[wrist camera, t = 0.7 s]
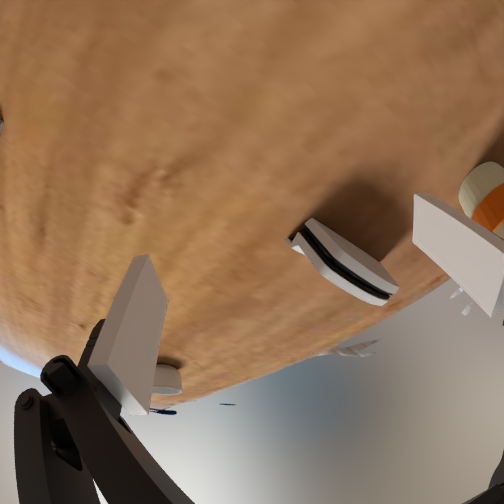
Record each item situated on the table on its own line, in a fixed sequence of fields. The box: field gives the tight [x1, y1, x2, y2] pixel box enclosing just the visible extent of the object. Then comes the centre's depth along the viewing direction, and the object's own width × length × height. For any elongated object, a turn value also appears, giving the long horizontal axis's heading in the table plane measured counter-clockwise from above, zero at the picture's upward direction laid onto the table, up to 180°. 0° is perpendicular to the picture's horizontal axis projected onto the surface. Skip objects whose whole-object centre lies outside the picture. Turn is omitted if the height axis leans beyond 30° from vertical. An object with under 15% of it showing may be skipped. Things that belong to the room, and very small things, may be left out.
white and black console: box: [286, 218, 400, 306], centre depth 38 cm, size 17×5×10 cm, turn 52°
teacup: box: [152, 364, 182, 395], centre depth 80 cm, size 14×11×8 cm
